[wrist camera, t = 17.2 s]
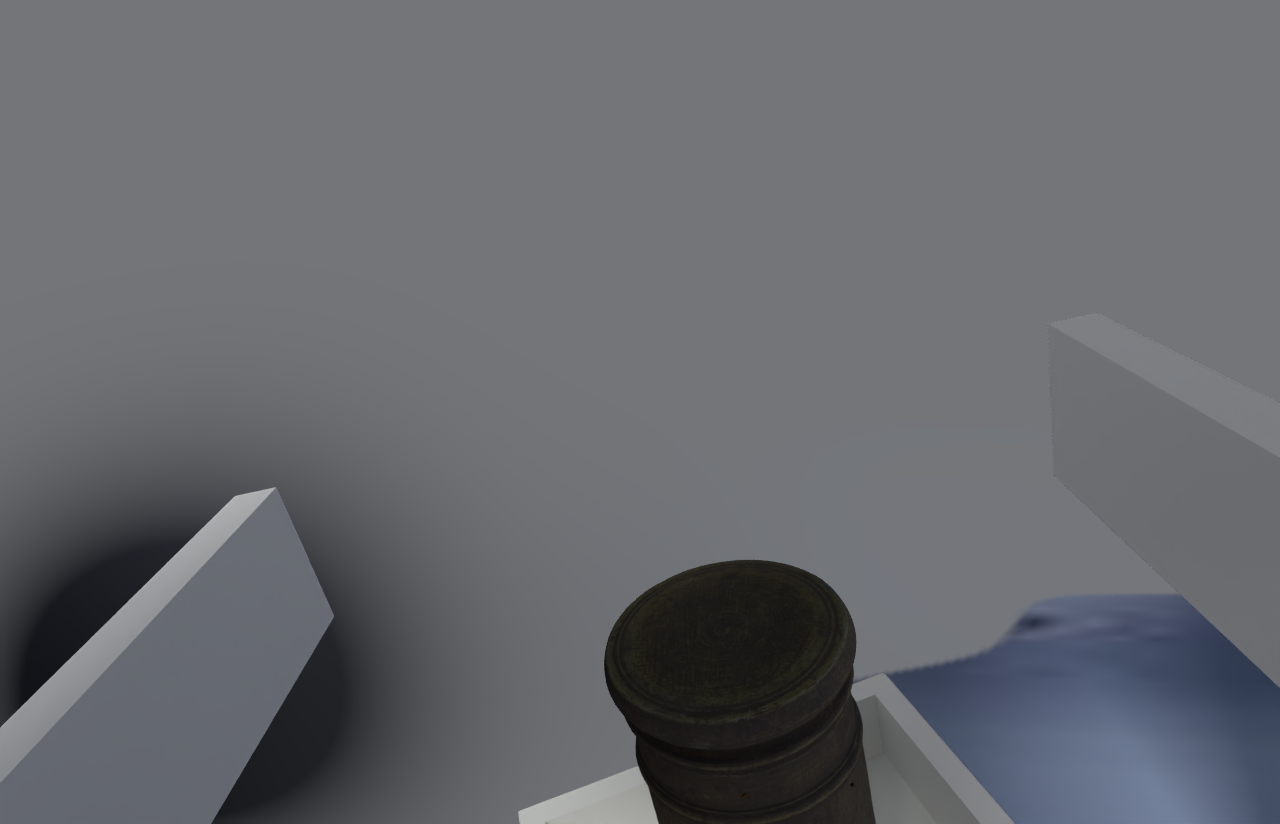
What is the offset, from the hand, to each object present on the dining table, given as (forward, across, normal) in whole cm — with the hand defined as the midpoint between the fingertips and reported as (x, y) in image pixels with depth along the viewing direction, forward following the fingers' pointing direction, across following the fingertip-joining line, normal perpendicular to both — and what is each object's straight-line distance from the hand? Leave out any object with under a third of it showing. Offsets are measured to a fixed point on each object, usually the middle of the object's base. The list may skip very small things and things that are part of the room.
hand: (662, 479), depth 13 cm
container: (+10, 0, -29) cm, 30 cm away
